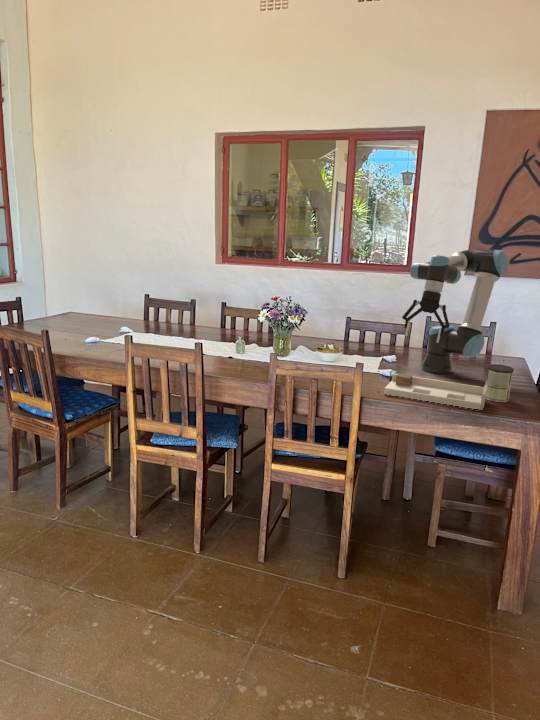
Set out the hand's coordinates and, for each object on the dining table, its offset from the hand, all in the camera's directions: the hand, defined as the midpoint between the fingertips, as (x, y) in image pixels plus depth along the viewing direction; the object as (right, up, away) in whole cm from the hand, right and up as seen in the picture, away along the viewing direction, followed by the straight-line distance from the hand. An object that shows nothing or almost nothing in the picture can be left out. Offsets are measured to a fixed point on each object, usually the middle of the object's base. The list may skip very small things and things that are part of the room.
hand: (421, 339), depth 229 cm
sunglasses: (-3, -20, +16) cm, 26 cm away
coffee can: (+32, -26, -2) cm, 41 cm away
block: (-7, -20, +3) cm, 21 cm away
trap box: (+4, -25, -5) cm, 26 cm away
